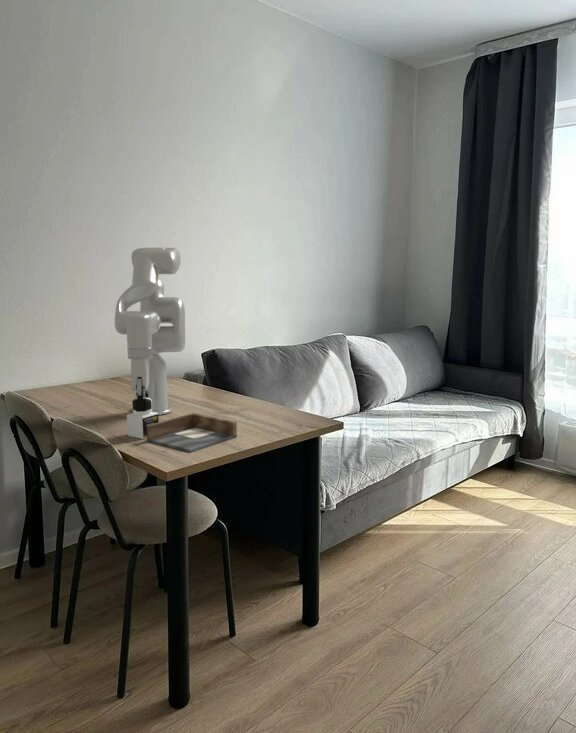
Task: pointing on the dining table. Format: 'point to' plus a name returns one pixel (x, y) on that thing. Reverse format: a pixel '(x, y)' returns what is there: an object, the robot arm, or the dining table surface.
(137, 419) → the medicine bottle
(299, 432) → the dining table surface
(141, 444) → the dining table surface
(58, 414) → the dining table surface
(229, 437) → the tray
